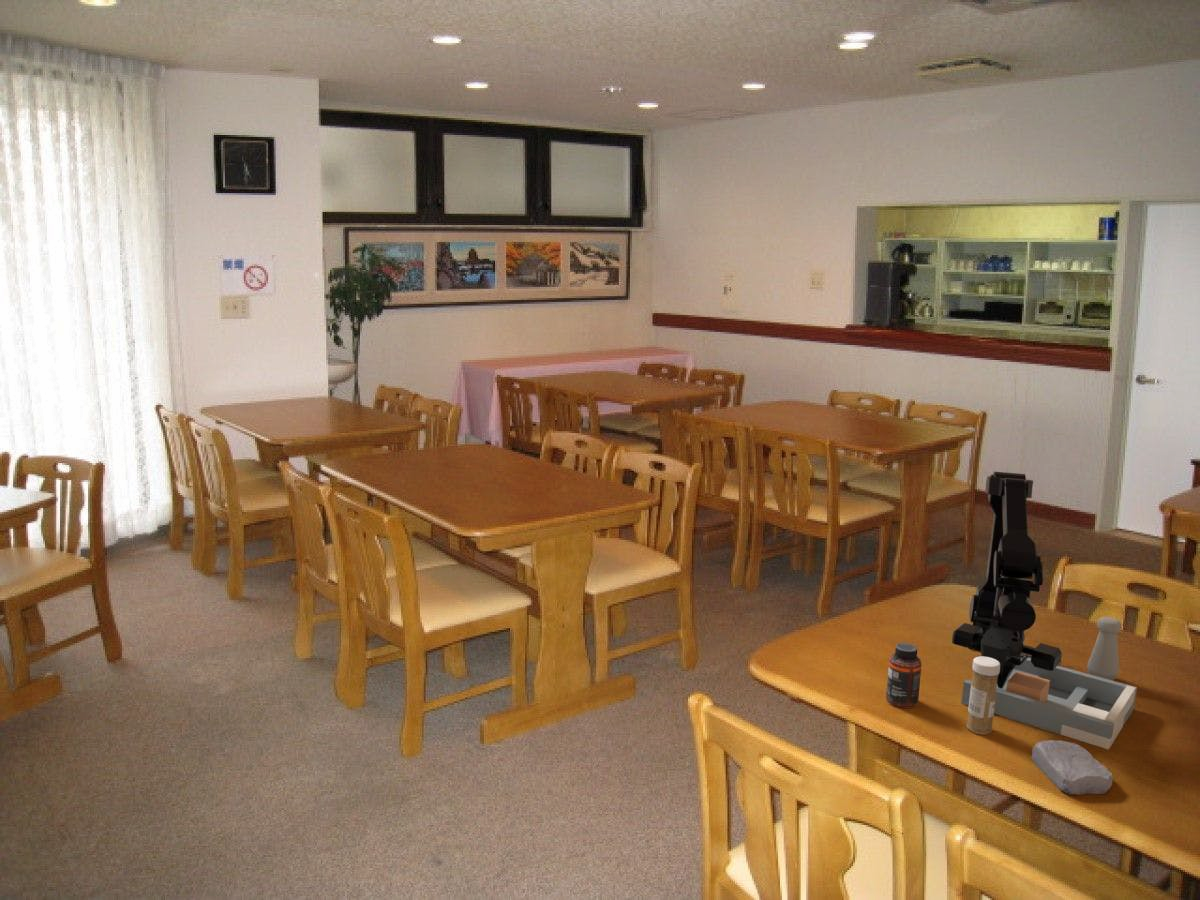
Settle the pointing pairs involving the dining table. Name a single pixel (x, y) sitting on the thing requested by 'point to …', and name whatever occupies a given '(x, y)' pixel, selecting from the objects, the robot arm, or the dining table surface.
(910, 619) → the dining table surface
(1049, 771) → the stone block
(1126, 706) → the box
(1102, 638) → the salt shaker
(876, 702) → the dining table surface
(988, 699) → the sprinkles bottle
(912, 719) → the dining table surface
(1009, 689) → the terracotta block
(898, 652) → the supplement bottle
